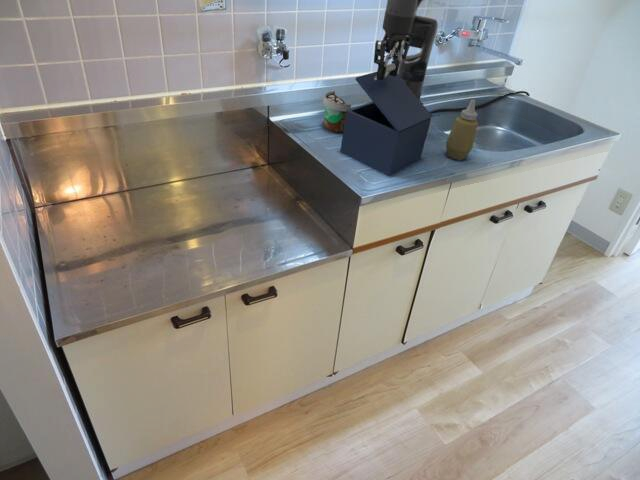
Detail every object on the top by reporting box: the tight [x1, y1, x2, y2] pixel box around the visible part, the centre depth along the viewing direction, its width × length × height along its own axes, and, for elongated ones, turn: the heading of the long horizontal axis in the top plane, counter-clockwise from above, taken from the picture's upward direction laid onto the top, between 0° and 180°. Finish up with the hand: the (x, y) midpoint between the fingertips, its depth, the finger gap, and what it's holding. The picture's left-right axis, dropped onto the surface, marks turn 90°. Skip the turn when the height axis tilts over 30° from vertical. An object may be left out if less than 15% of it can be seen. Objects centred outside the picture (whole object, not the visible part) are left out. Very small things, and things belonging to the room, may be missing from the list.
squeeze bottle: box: [445, 99, 479, 161], centre depth 142 cm, size 8×8×18 cm
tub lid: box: [354, 62, 433, 132], centre depth 129 cm, size 19×17×5 cm
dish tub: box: [339, 100, 432, 176], centre depth 138 cm, size 18×17×13 cm
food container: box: [322, 90, 352, 134], centre depth 151 cm, size 12×6×10 cm, turn 25°
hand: (386, 77), depth 130 cm, fingers closed on tub lid, 5 cm apart
